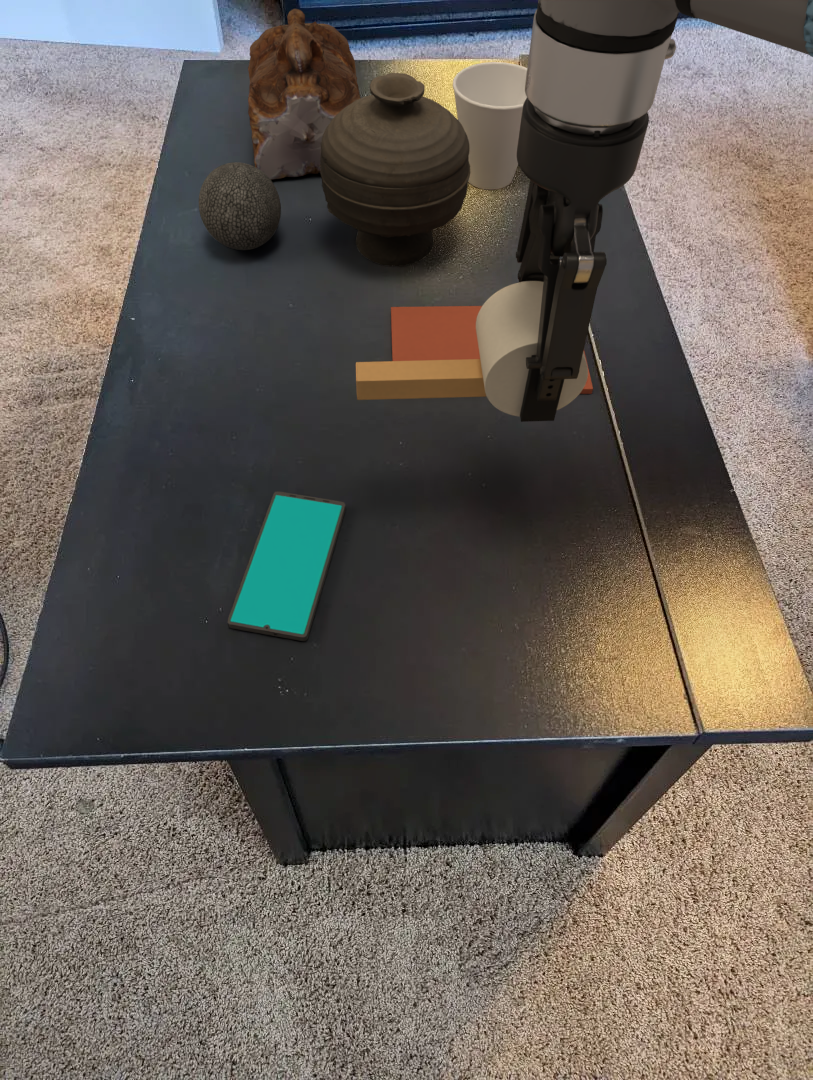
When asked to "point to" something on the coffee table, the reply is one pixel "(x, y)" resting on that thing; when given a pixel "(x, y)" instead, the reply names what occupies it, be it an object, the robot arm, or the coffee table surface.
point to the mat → (439, 334)
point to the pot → (395, 169)
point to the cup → (491, 119)
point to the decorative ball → (239, 206)
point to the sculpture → (297, 93)
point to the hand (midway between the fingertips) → (530, 383)
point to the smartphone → (288, 566)
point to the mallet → (497, 374)
